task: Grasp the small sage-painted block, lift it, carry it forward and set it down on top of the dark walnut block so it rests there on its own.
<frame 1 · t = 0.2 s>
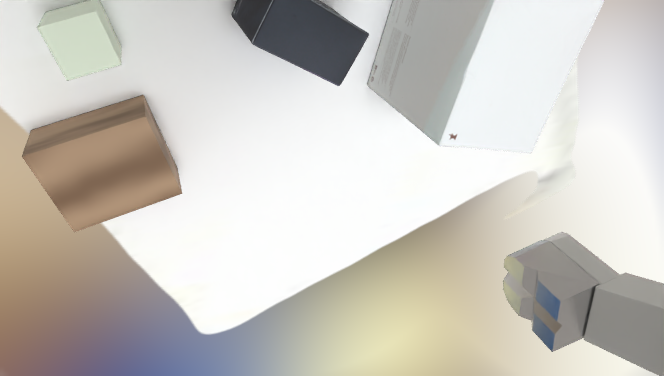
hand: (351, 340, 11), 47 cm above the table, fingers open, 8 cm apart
walnut block: (109, 150, 54), on the table
small box: (282, 13, 53), on the table
supplement box: (427, 28, 61), on the table
sage block: (85, 30, 47), on the table
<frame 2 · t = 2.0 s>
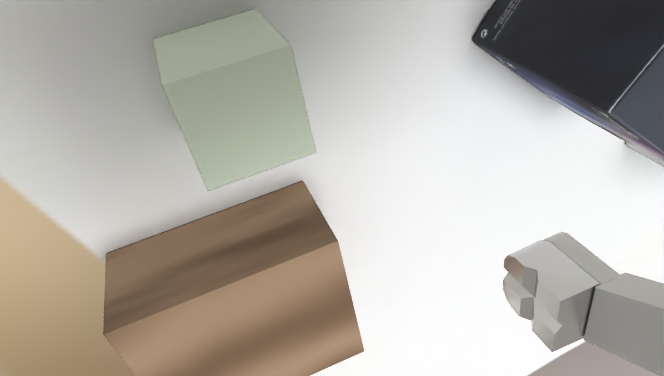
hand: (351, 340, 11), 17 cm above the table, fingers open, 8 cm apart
walnut block: (233, 272, 31), on the table
small box: (546, 33, 30), on the table
sage block: (222, 72, 24), on the table
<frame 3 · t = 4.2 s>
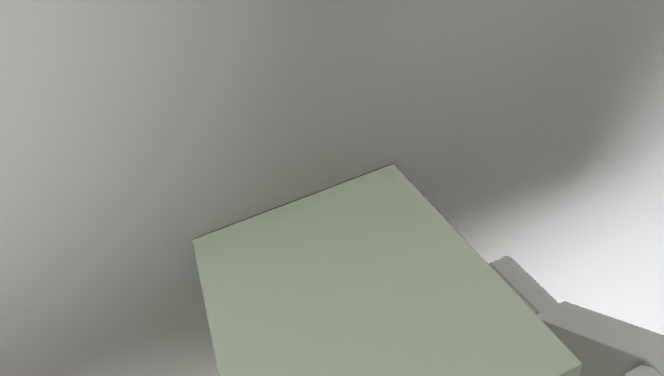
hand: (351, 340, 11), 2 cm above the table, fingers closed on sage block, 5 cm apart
sage block: (318, 273, 13), on the table, touching gripper
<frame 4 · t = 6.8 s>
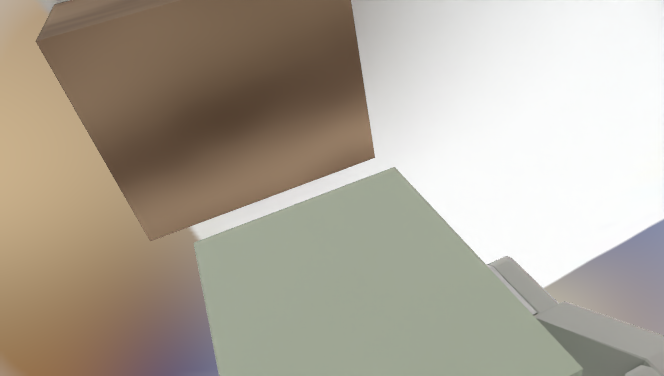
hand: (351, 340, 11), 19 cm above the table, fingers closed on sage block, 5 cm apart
walnut block: (216, 67, 26), on the table
sage block: (319, 275, 13), point 17 cm above the table, touching gripper
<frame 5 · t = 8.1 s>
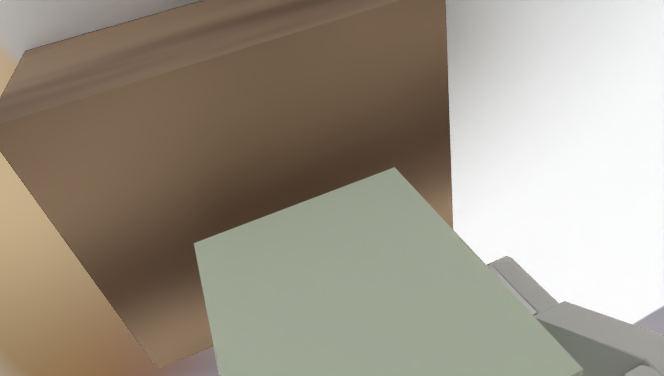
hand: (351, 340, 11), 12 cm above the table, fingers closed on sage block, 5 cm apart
walnut block: (244, 123, 20), on the table
sage block: (319, 276, 13), point 9 cm above the table, touching gripper
when the fingers open (10 cm above the table, at t = 9.3 s): sage block drops 1 cm, resting on walnut block.
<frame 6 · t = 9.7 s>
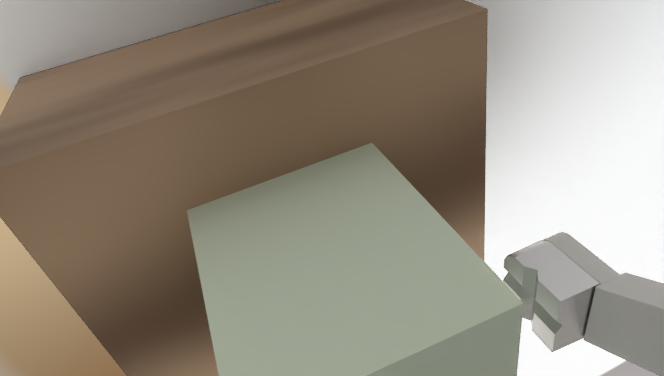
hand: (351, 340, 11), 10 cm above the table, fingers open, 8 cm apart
walnut block: (256, 149, 18), on the table
sage block: (304, 245, 14), point 6 cm above the table, touching walnut block
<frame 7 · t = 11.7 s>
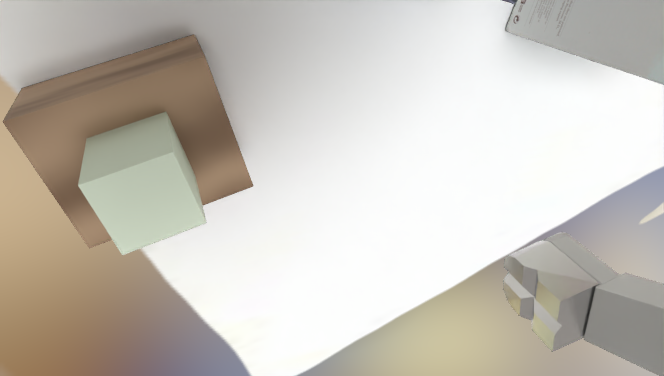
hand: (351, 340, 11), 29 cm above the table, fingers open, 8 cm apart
walnut block: (141, 123, 36), on the table
sage block: (144, 158, 31), point 6 cm above the table, touching walnut block
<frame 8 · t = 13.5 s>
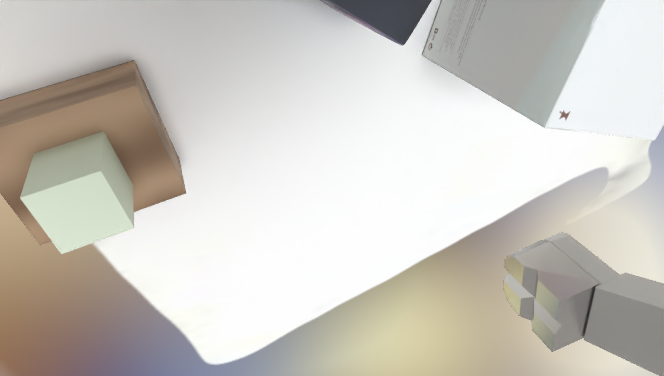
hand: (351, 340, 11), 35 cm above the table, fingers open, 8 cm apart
walnut block: (89, 135, 41), on the table
sage block: (85, 169, 36), point 6 cm above the table, touching walnut block
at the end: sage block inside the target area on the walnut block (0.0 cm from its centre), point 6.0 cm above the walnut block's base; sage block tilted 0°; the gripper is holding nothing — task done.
